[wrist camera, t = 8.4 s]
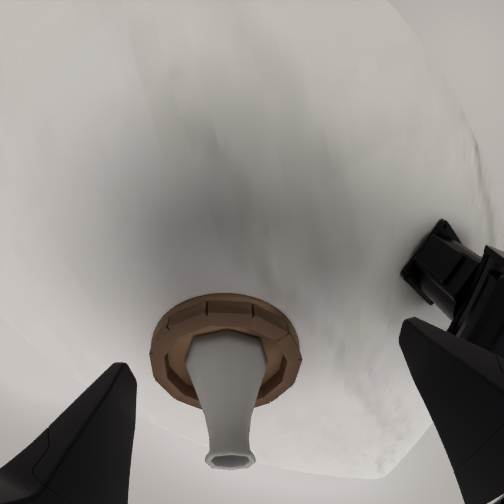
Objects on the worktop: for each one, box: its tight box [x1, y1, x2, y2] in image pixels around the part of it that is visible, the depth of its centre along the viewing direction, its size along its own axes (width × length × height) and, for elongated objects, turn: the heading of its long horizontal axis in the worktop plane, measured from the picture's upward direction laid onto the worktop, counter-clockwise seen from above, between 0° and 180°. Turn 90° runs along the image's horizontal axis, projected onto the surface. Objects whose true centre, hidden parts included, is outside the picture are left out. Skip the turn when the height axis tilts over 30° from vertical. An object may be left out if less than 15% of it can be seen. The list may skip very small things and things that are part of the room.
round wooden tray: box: [149, 294, 302, 409], centre depth 22 cm, size 13×13×2 cm
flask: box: [184, 330, 268, 470], centre depth 18 cm, size 7×7×10 cm
